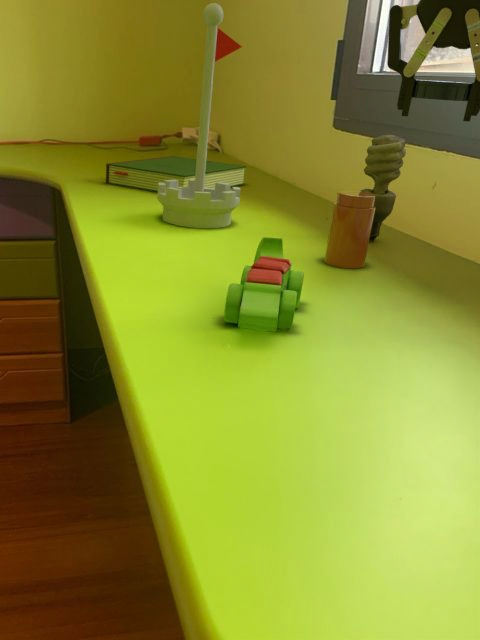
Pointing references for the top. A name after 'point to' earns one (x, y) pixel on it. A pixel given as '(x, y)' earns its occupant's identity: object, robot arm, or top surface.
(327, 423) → the top surface
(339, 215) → the jar
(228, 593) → the top surface
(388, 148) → the light bulb
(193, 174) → the hardcover book
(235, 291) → the toy crocodile
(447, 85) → the lid
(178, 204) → the flag stand
